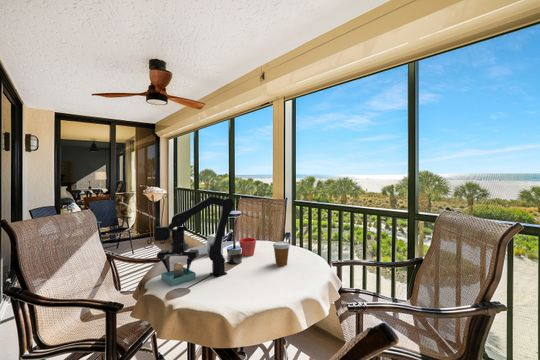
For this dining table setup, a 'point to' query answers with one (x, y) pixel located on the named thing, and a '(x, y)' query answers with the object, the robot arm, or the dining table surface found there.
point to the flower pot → (247, 246)
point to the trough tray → (169, 277)
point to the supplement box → (210, 240)
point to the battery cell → (178, 270)
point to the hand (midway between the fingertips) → (178, 271)
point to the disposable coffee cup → (281, 252)
